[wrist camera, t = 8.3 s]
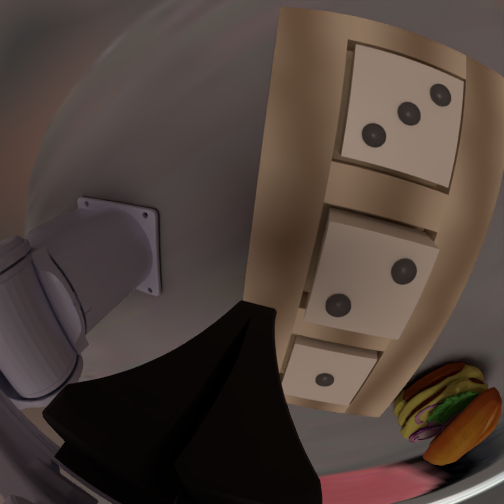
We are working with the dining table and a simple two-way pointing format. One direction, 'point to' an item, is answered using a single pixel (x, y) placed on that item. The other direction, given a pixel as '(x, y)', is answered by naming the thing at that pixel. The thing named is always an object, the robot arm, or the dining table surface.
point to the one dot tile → (326, 370)
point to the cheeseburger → (448, 411)
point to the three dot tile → (402, 115)
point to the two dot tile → (368, 274)
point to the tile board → (364, 190)
